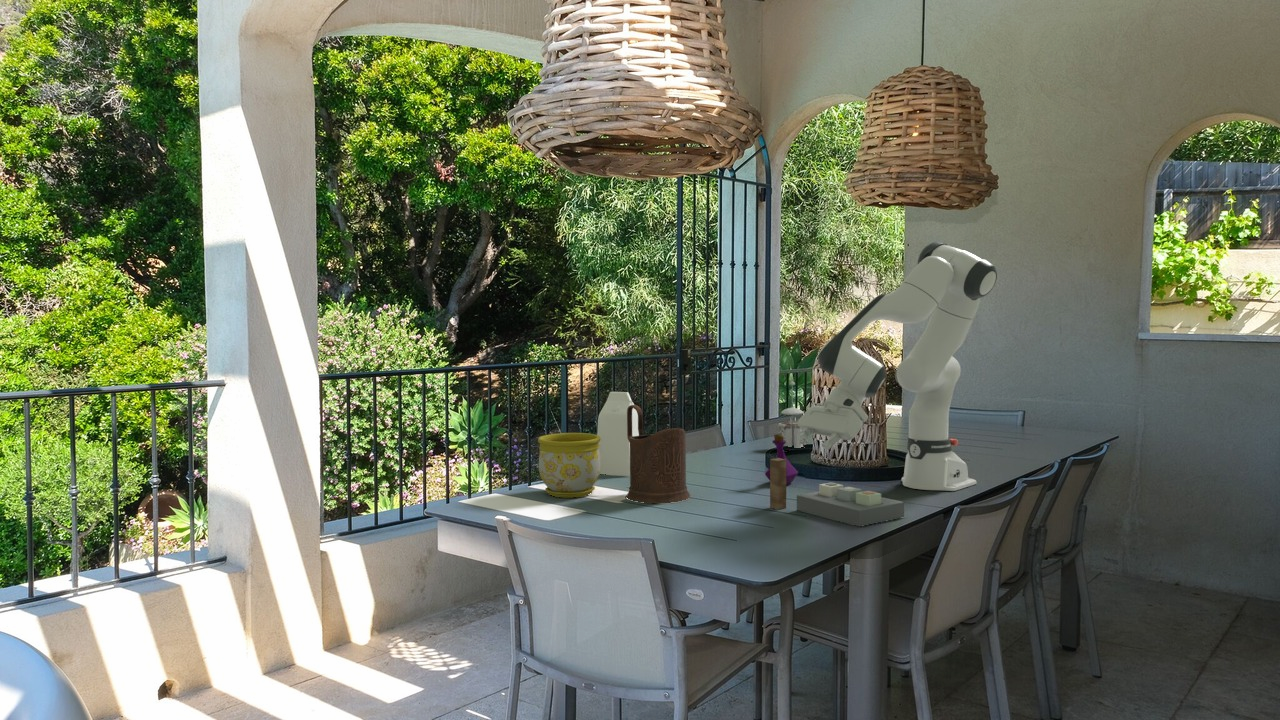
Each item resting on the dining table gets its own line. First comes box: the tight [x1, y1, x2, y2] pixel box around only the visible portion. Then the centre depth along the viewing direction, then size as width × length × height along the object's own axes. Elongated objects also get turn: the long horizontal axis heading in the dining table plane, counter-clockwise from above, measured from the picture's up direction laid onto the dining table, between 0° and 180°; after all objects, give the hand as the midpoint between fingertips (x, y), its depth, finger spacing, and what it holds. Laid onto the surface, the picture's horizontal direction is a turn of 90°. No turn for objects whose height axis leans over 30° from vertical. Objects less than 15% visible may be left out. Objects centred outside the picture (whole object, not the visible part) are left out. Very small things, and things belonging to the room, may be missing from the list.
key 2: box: [856, 490, 882, 506], centre depth 231 cm, size 4×4×4 cm
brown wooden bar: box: [769, 457, 787, 510], centre depth 244 cm, size 3×3×13 cm
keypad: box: [796, 490, 905, 527], centre depth 237 cm, size 16×22×4 cm
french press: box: [780, 381, 804, 448], centre depth 337 cm, size 10×12×25 cm
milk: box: [596, 391, 639, 477], centre depth 297 cm, size 12×12×26 cm
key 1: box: [818, 482, 844, 497], centre depth 242 cm, size 4×4×4 cm
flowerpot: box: [537, 432, 601, 499], centre depth 265 cm, size 18×18×16 cm
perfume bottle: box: [764, 423, 799, 486], centre depth 275 cm, size 8×8×18 cm
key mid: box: [837, 486, 863, 502], centre depth 237 cm, size 4×4×4 cm
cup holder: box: [625, 404, 691, 504], centre depth 262 cm, size 18×24×25 cm
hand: (813, 445), depth 248 cm, fingers open, 8 cm apart
